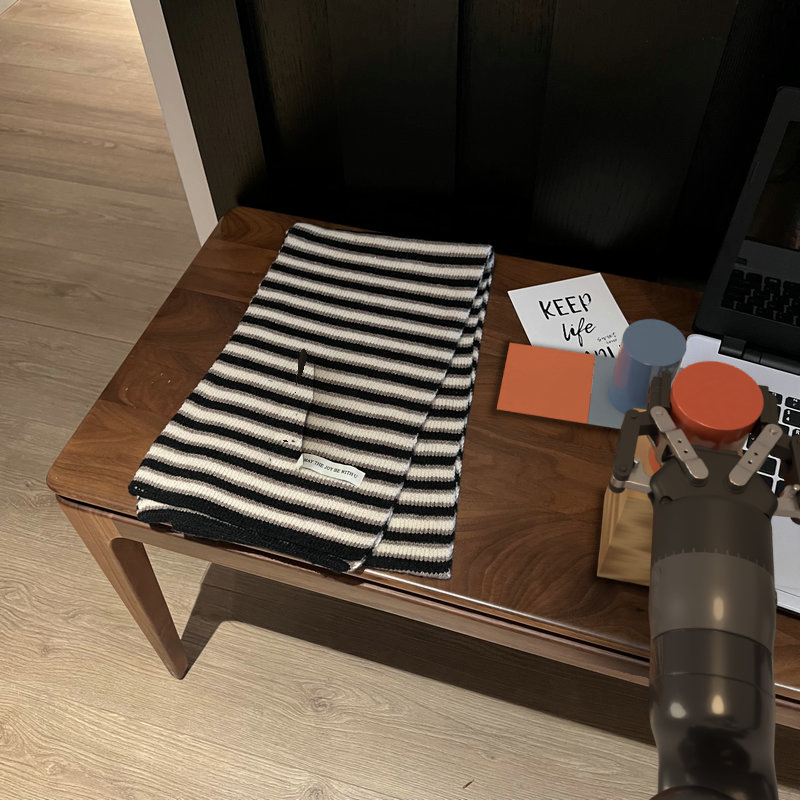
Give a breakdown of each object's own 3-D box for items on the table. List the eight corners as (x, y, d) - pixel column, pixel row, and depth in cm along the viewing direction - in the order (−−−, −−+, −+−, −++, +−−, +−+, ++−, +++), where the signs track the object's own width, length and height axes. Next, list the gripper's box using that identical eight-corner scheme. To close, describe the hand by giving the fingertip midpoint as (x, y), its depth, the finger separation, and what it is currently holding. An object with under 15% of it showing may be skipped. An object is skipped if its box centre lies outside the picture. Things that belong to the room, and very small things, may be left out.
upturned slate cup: (667, 377, 88) (687, 323, 81) (665, 422, 84) (686, 370, 77) (609, 368, 89) (624, 315, 82) (605, 413, 85) (620, 360, 78)
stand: (693, 515, 79) (742, 424, 66) (692, 597, 73) (744, 516, 61) (603, 499, 80) (633, 407, 67) (596, 578, 75) (627, 496, 62)
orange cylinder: (731, 438, 65) (765, 370, 58) (726, 502, 61) (762, 438, 54) (652, 421, 66) (677, 353, 59) (643, 483, 63) (668, 418, 56)
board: (682, 373, 90) (684, 367, 89) (680, 443, 84) (682, 438, 83) (509, 347, 93) (509, 342, 92) (496, 414, 87) (496, 409, 86)
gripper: (589, 585, 54) (607, 398, 64) (807, 628, 52) (792, 427, 62) (607, 536, 48) (624, 338, 58) (854, 582, 46) (830, 367, 56)
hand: (711, 385), depth 60 cm, fingers closed on orange cylinder, 6 cm apart
